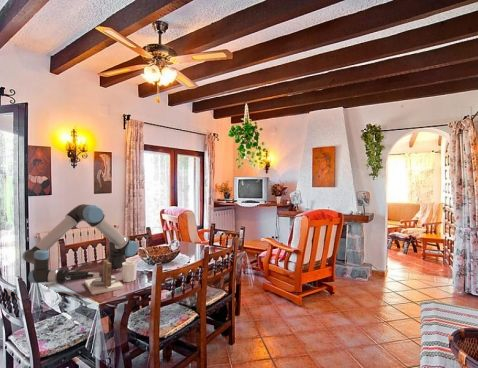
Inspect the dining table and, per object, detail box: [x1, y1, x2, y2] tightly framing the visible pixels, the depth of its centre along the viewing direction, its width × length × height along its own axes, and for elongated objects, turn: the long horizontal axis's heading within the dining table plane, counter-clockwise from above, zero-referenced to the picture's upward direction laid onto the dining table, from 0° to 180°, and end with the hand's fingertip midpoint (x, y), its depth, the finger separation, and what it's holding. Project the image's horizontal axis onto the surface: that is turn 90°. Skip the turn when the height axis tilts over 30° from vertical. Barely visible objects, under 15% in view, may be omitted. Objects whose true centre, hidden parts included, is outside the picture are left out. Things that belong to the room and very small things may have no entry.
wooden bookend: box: [92, 259, 116, 287], centre depth 185 cm, size 20×14×15 cm
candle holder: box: [121, 260, 138, 283], centre depth 199 cm, size 10×10×12 cm
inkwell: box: [69, 262, 95, 282], centre depth 203 cm, size 9×18×10 cm, turn 124°
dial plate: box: [84, 275, 124, 295], centre depth 187 cm, size 18×24×2 cm
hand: (99, 275), depth 179 cm, fingers closed
